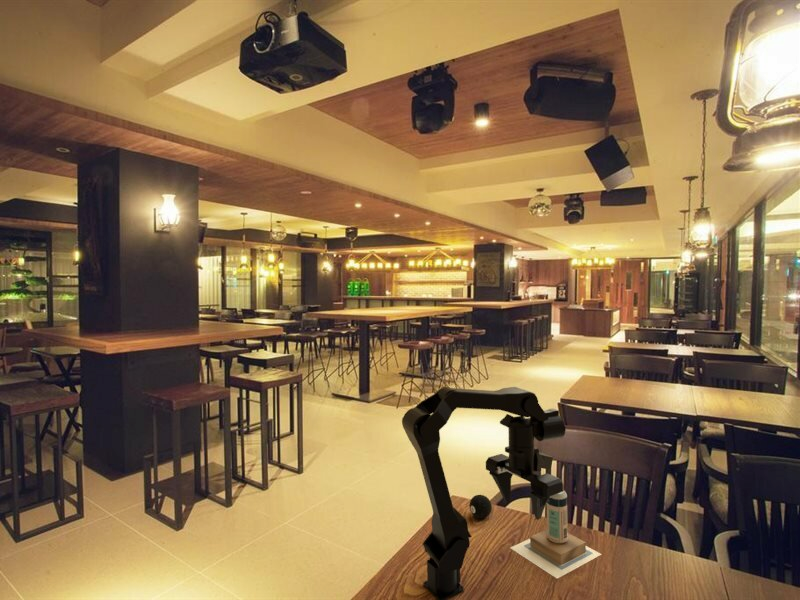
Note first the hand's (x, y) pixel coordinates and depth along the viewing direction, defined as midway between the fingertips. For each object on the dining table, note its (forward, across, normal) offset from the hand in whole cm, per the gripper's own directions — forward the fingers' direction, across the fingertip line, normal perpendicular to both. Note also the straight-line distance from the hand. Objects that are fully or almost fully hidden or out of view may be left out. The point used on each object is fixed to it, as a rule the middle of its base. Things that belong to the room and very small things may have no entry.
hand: (522, 510), depth 102 cm
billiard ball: (+13, +22, -7) cm, 27 cm away
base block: (+12, -1, -11) cm, 17 cm away
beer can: (+10, -1, -11) cm, 15 cm away
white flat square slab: (+13, -1, -10) cm, 16 cm away
